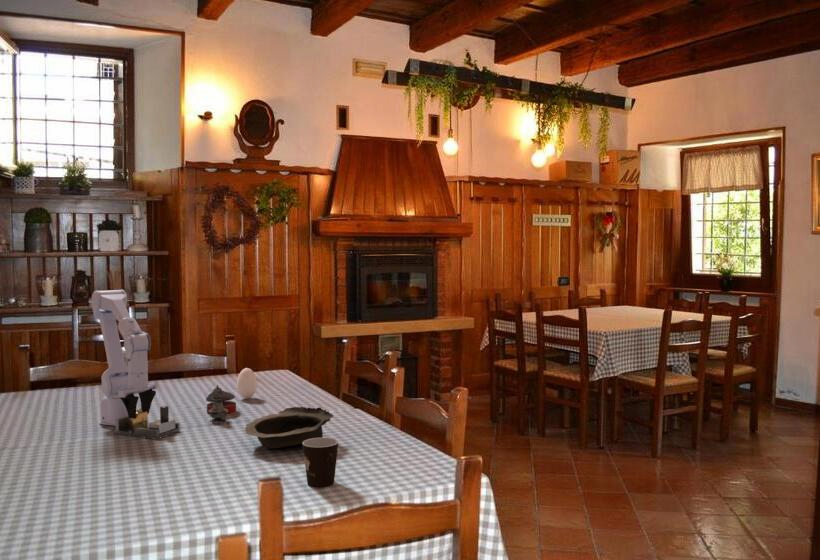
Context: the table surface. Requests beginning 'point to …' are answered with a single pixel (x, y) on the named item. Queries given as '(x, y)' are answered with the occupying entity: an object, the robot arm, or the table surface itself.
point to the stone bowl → (289, 426)
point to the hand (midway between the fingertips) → (138, 416)
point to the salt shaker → (217, 407)
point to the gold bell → (139, 419)
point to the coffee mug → (320, 461)
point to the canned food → (223, 402)
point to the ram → (163, 421)
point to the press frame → (140, 429)
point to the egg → (246, 383)
